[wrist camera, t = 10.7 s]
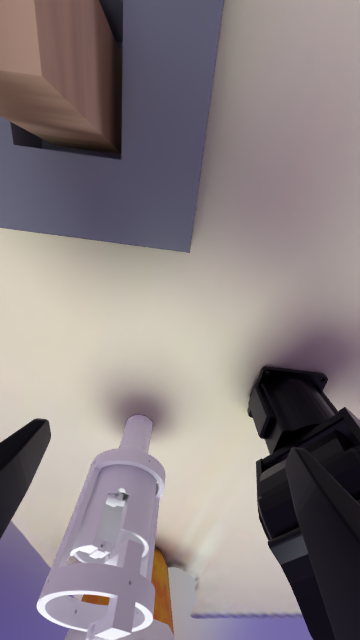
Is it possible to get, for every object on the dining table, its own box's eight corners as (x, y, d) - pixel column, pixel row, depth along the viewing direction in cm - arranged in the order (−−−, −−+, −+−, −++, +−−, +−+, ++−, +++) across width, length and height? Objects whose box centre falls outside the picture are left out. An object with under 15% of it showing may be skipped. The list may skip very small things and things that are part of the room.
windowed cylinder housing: (181, 422, 26) (175, 650, 12) (146, 452, 28) (107, 671, 15) (131, 391, 24) (59, 615, 11) (98, 426, 27) (4, 645, 13)
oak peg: (123, 60, 13) (12, -212, 5) (122, 154, 15) (41, 76, 7) (45, 49, 13) (-206, -249, 5) (54, 145, 15) (-115, 54, 7)
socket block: (229, -55, 12) (245, -162, 8) (189, 246, 18) (189, 252, 15) (-65, -103, 11) (-169, -234, 8) (-2, 221, 17) (-45, 221, 14)
